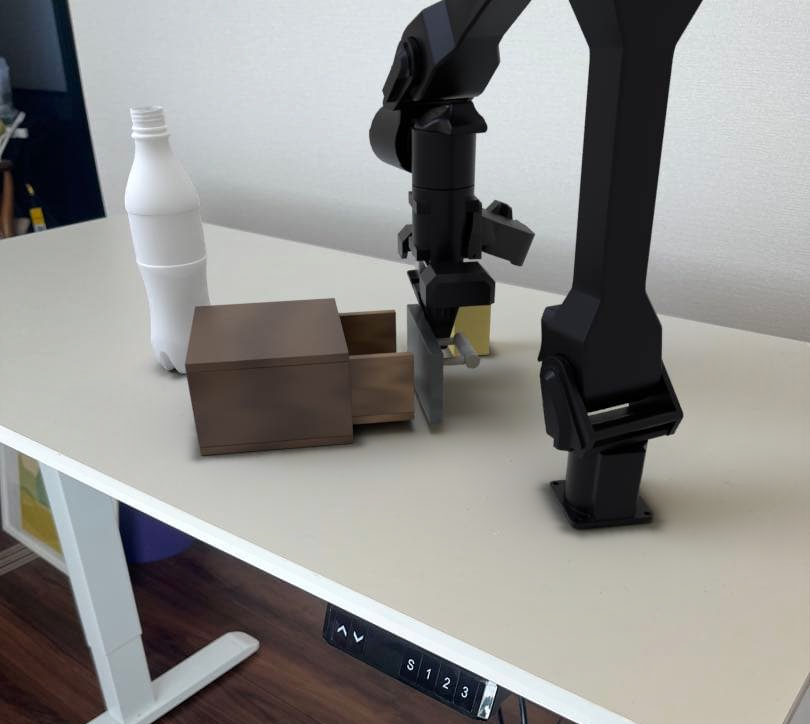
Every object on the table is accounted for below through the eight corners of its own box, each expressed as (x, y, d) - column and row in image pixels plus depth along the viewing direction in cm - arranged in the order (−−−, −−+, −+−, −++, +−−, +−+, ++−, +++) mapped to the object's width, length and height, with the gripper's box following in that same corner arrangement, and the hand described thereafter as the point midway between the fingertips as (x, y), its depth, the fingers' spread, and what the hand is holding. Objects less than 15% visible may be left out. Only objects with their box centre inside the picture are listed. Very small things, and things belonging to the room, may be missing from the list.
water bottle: (142, 370, 88) (88, 111, 74) (186, 348, 93) (144, 101, 79) (194, 382, 85) (149, 115, 71) (237, 359, 91) (202, 105, 76)
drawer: (457, 364, 86) (459, 300, 82) (487, 420, 75) (491, 350, 71) (299, 376, 84) (293, 311, 80) (305, 435, 73) (299, 363, 69)
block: (488, 354, 91) (492, 292, 87) (453, 357, 90) (454, 294, 86) (480, 341, 94) (483, 280, 90) (446, 344, 93) (447, 282, 90)
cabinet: (339, 378, 86) (334, 297, 81) (353, 443, 74) (348, 352, 69) (208, 388, 84) (194, 306, 79) (200, 455, 72) (184, 363, 67)
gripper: (560, 202, 68) (544, 379, 76) (504, 161, 83) (496, 312, 92) (427, 209, 66) (426, 387, 75) (395, 165, 81) (398, 318, 90)
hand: (441, 347), depth 83 cm, fingers closed
